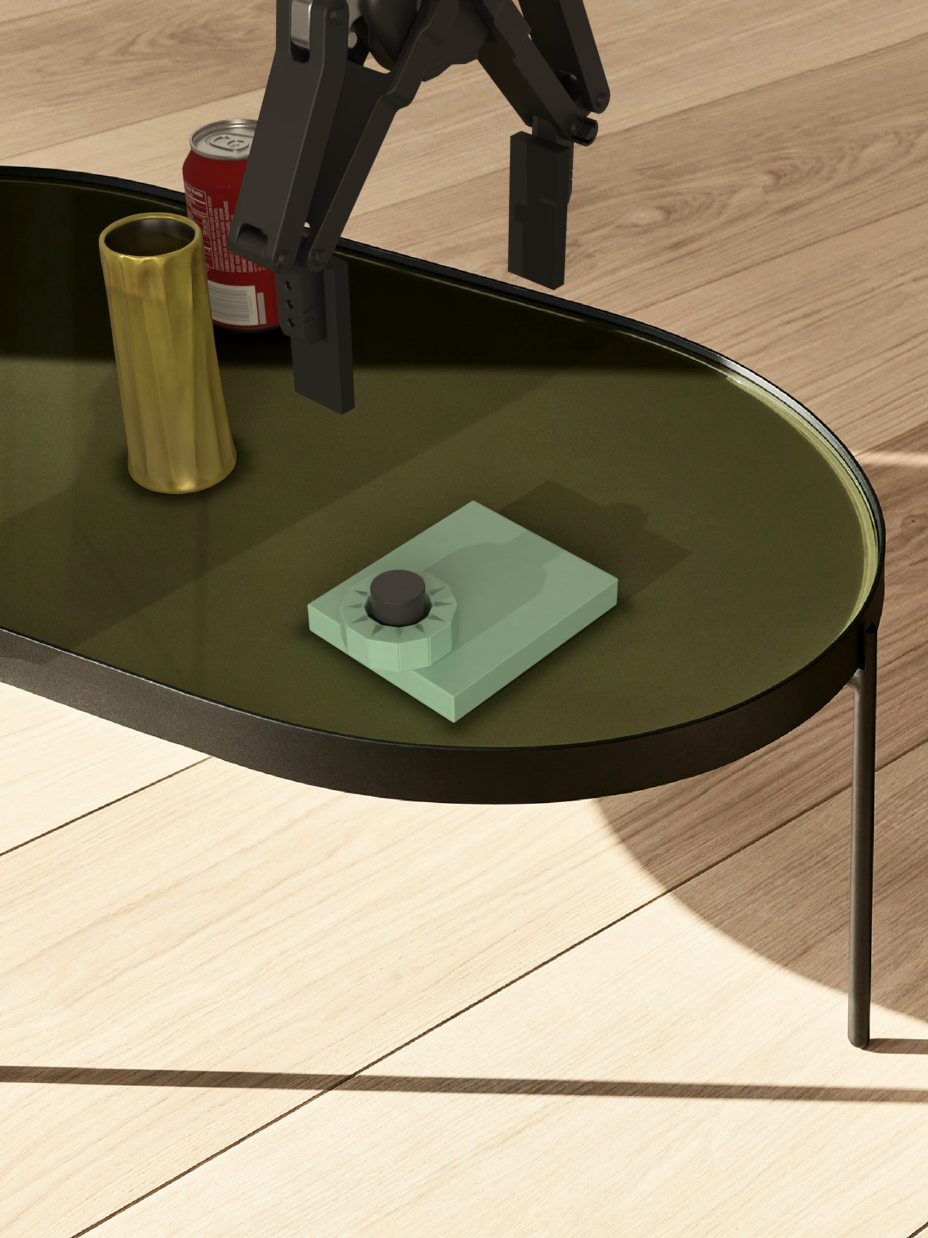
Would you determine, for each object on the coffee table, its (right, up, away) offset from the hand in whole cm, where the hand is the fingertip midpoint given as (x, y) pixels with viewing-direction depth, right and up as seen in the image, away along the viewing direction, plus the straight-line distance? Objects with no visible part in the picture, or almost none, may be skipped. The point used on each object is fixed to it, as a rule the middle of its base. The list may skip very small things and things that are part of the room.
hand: (436, 336), depth 72 cm
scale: (+1, -12, +12) cm, 17 cm away
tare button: (-2, -12, +8) cm, 14 cm away
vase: (-15, -4, +23) cm, 27 cm away
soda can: (-12, +7, +36) cm, 39 cm away
